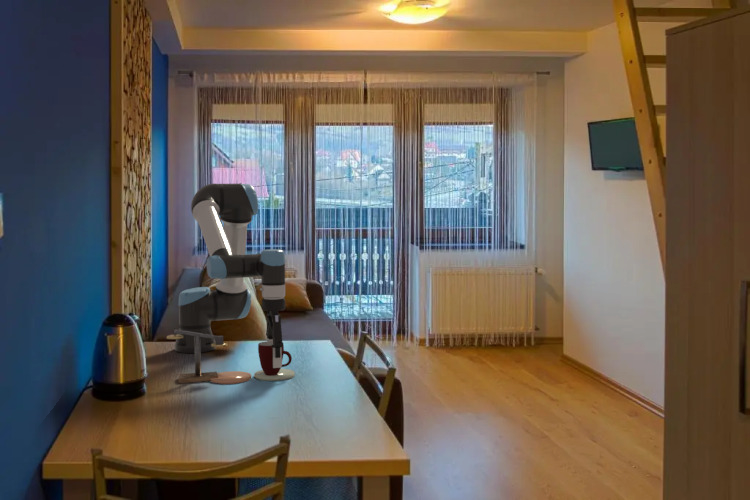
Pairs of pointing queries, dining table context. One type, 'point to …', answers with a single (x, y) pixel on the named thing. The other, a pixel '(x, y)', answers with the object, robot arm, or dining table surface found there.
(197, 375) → the balance
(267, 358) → the mug
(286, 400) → the dining table surface
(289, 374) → the dish sage
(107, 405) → the dining table surface
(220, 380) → the dish terracotta
